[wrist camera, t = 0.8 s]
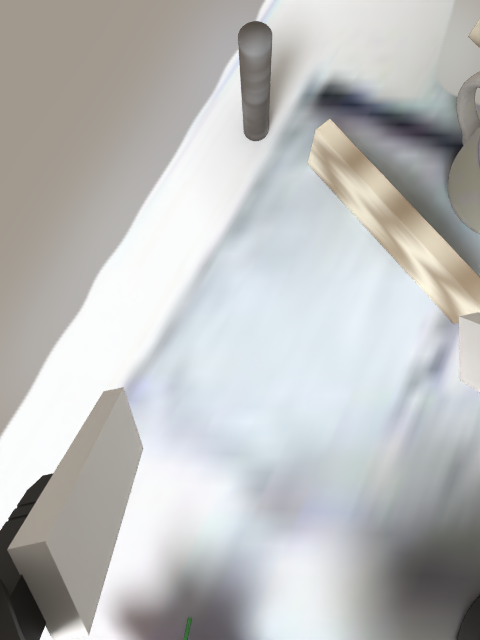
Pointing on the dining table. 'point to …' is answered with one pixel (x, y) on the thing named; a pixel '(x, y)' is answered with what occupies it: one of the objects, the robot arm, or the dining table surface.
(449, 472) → the dining table surface
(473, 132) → the teacup
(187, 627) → the lily
